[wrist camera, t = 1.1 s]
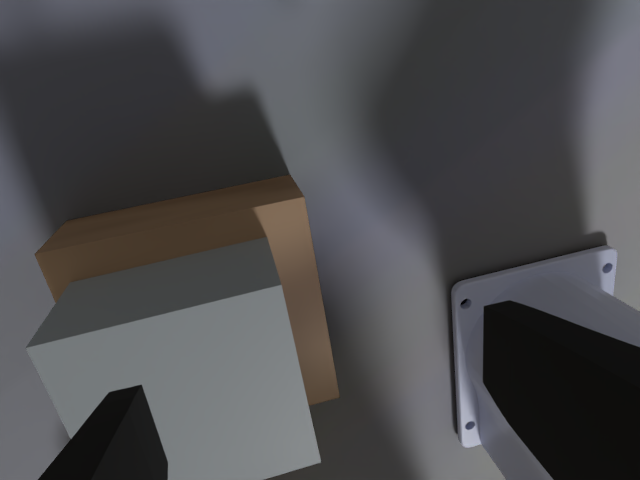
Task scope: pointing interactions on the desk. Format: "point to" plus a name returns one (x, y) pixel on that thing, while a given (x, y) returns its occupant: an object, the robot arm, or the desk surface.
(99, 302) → the slate block
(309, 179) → the desk surface
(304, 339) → the brown square box
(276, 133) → the desk surface
